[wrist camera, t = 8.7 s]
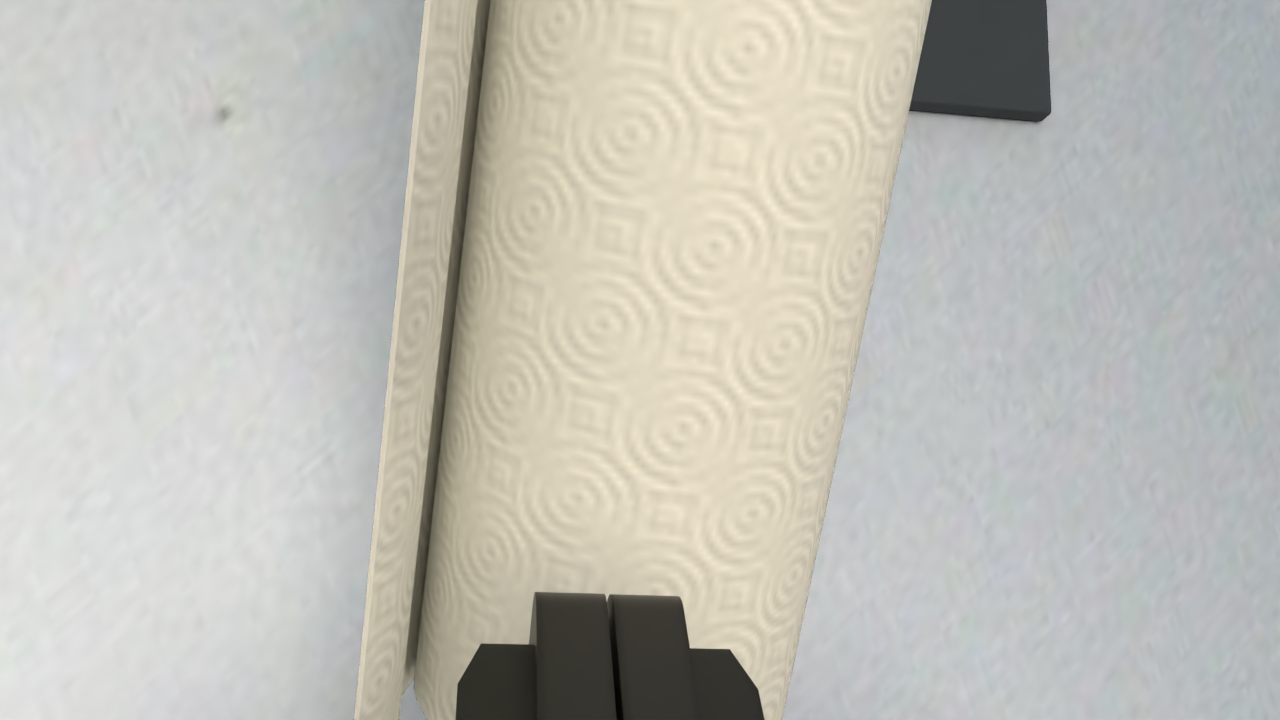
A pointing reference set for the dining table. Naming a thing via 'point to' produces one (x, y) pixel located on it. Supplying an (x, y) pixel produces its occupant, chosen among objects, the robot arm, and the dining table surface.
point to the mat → (985, 60)
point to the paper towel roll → (626, 318)
